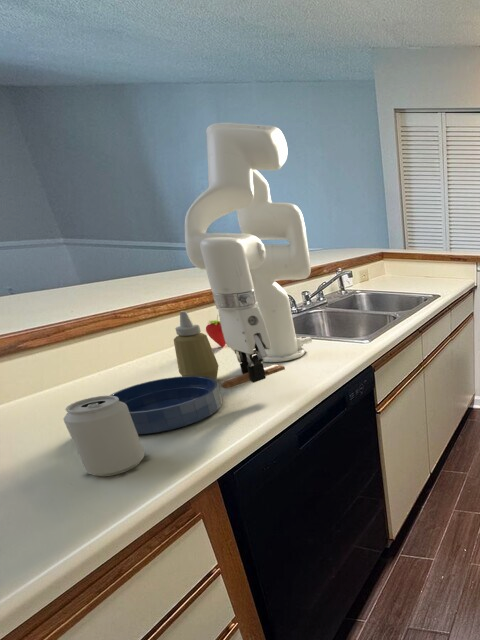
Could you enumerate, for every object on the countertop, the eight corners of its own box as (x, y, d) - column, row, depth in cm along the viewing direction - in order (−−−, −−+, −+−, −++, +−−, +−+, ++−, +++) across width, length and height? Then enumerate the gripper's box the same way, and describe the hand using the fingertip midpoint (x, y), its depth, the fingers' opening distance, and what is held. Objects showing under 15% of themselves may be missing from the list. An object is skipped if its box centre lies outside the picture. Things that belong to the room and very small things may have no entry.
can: (143, 449, 76) (121, 389, 72) (149, 466, 71) (125, 402, 67) (86, 465, 71) (59, 401, 67) (88, 485, 66) (58, 417, 62)
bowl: (195, 389, 101) (189, 370, 100) (241, 407, 93) (235, 387, 91) (91, 421, 86) (82, 398, 84) (135, 446, 77) (125, 422, 75)
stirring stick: (277, 369, 102) (275, 361, 101) (285, 371, 101) (284, 364, 100) (219, 388, 91) (216, 379, 91) (227, 391, 90) (224, 383, 89)
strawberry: (221, 342, 137) (213, 312, 133) (240, 344, 135) (233, 314, 131) (205, 347, 132) (196, 316, 128) (224, 350, 130) (216, 318, 126)
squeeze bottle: (185, 391, 100) (162, 317, 94) (181, 381, 106) (159, 310, 99) (224, 383, 105) (206, 312, 99) (219, 374, 111) (201, 306, 104)
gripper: (275, 301, 88) (291, 381, 96) (232, 291, 95) (250, 367, 103) (239, 308, 82) (259, 393, 90) (196, 297, 89) (218, 377, 97)
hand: (254, 378), depth 96 cm, fingers closed on stirring stick, 2 cm apart
